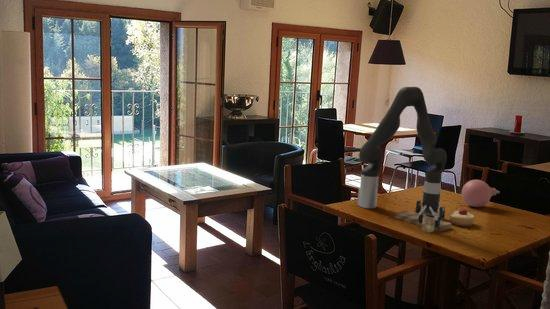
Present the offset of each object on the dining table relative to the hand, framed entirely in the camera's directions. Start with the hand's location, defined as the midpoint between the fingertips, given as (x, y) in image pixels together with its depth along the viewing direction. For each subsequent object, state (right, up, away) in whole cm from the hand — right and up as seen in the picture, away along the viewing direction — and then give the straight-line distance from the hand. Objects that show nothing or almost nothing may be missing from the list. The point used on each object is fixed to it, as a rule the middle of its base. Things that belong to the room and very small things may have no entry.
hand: (428, 225), depth 246 cm
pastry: (+20, -2, +14) cm, 25 cm away
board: (0, -1, +12) cm, 12 cm away
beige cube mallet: (+2, -2, +2) cm, 4 cm away
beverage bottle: (+7, +1, +26) cm, 27 cm away
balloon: (+42, +3, +49) cm, 65 cm away
